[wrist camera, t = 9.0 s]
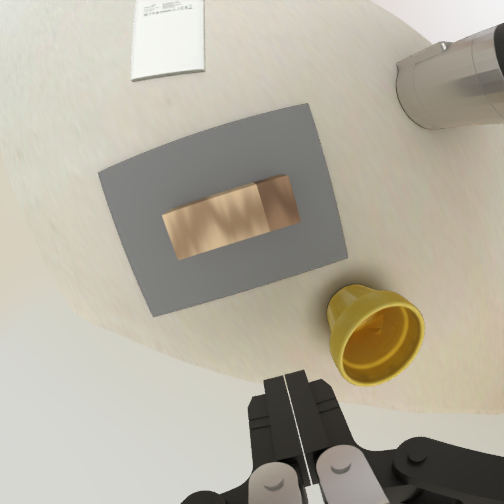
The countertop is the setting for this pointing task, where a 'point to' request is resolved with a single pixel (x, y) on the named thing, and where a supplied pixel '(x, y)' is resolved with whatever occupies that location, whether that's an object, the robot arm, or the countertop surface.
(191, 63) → the external hard drive
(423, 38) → the countertop surface
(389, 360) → the plant pot
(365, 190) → the countertop surface
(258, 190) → the block
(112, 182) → the mat
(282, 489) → the robot arm
